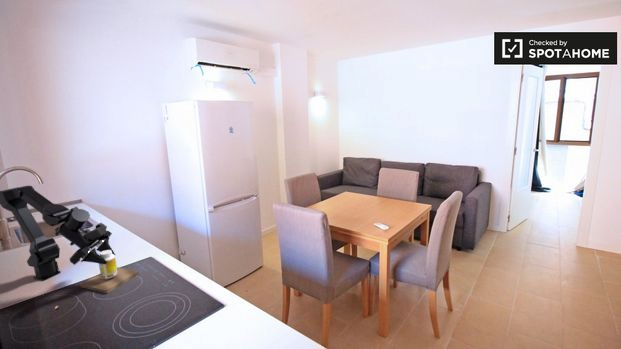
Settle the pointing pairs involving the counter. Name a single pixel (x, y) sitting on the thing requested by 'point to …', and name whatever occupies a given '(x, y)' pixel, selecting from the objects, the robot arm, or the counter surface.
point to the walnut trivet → (109, 281)
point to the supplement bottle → (108, 265)
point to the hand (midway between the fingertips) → (110, 259)
